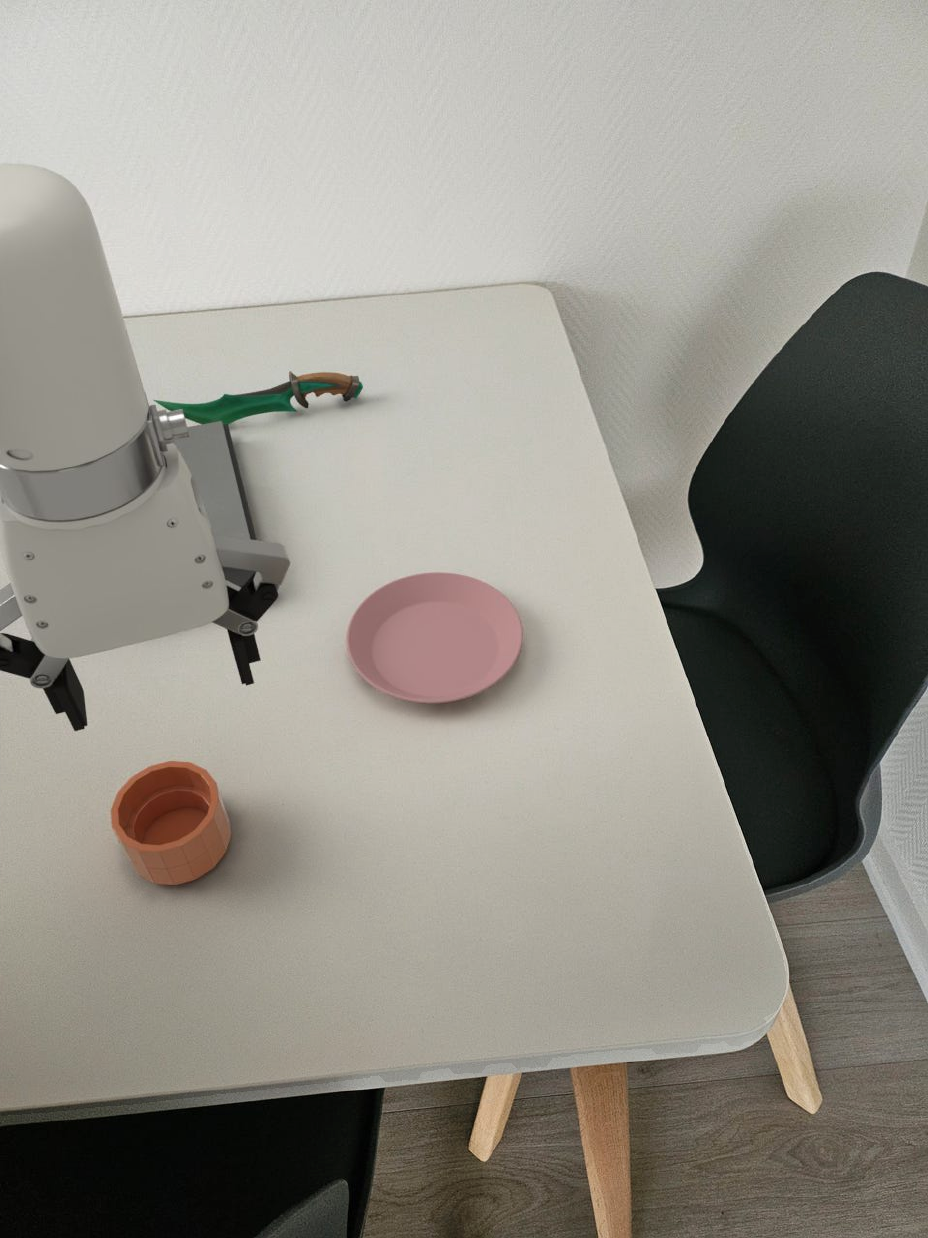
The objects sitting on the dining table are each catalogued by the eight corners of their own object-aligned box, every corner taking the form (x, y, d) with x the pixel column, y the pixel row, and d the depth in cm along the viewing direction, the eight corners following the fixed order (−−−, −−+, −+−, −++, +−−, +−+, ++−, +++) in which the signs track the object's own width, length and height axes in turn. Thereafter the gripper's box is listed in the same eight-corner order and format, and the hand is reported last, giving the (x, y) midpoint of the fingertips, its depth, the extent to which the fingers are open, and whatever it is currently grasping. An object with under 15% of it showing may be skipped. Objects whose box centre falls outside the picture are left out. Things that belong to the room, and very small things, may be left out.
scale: (106, 637, 83) (95, 610, 81) (92, 469, 99) (83, 443, 96) (271, 599, 86) (264, 573, 83) (232, 442, 101) (226, 416, 99)
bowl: (134, 901, 66) (114, 864, 62) (127, 816, 71) (107, 776, 67) (239, 873, 67) (224, 834, 64) (225, 790, 72) (211, 750, 68)
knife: (361, 395, 107) (357, 354, 103) (365, 404, 106) (361, 363, 102) (163, 434, 103) (151, 393, 99) (165, 444, 101) (153, 403, 98)
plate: (319, 690, 78) (316, 674, 77) (390, 572, 88) (388, 556, 86) (489, 738, 75) (489, 722, 73) (544, 610, 84) (544, 594, 83)
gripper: (246, 376, 50) (293, 610, 63) (-119, 448, 46) (8, 682, 59) (276, 460, 45) (321, 696, 58) (-128, 549, 41) (13, 781, 54)
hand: (163, 689), depth 58 cm, fingers open, 9 cm apart
